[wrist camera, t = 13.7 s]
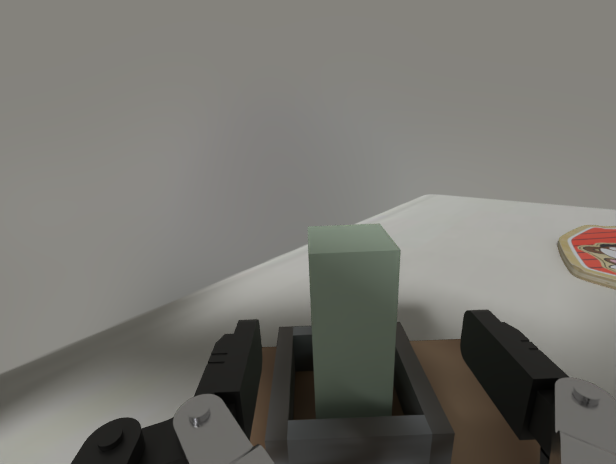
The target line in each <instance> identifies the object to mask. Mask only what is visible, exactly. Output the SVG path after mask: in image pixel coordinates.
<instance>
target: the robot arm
mask: <svg viewBox="0 0 616 464" xmlns="http://www.w3.org/2000/svg"><path fill="white" fill-rule="evenodd" d="M460 350H461V354H462V357H463V360H464V361H465V363H466V364H467V366H468V367H469V369H470V370H471V371H472V373H473V374H474V376H475V377H476V379H477V380H478V382H479V383H480V384H481V386H482V387H483V389H484V390H485V392H486V393H487V394H488V396H489V397H490V399H491V400H492V402H493V403H494V404H495V406H496V407H497V409H498V410H499V412H500V413H501V415H502V416H503V417H504V419H505V420H506V422H507V423H508V425H509V426H510V427H511V429H512V430H513V432H514V433H515V435H516V436H517V437H518V439H519V440H536V441H537V442H538V443H539V445H540V446H539V450H538V456H537V464H616V400H615V399H614V398H613V397H612V396H611V395H610V394H609V393H607V392H606V391H605V390H603V389H601V388H600V387H598V386H596V385H594V384H592V383H590V382H587V381H584V380H581V379H577V378H570V377H568V376H567V375H566V374H565V373H564V372H563V371H562V370H561V369H560V368H559V367H558V366H557V365H556V364H554V363H553V362H552V361H551V360H550V359H549V358H548V357H547V356H546V355H545V354H544V353H543V352H542V351H540V350H538V348H537V347H536V346H535V345H534V344H533V343H532V342H529V339H528V338H527V337H525V336H524V335H523V334H522V333H521V332H520V331H519V330H517V329H516V328H514V327H512V326H510V325H508V324H507V323H505V322H501V321H500V320H499V319H498V318H497V317H495V316H494V315H493V314H492V313H491V312H490V311H489V310H468V311H466V312H465V314H464V318H463V326H462V334H461V342H460ZM261 372H262V345H261V336H260V326H259V321H258V319H255V320H239V321H238V323H237V326H236V329H235V332H234V334H224V335H223V336H222V337H221V338H220V339H219V340H218V341H217V342H216V344H215V346H214V349H213V351H212V353H211V356H210V358H209V361H208V364H207V366H206V368H205V371H204V373H203V375H202V378H201V380H200V383H199V385H198V388H197V390H196V393H195V395H194V397H193V398H191V399H189V400H187V401H186V402H185V403H184V404H182V405H181V406H180V408H179V409H178V410H177V412H176V413H175V416H174V417H173V418H171V419H169V420H166V421H164V422H161V423H158V424H154V425H151V426H148V427H145V428H142V429H141V426H140V423H139V422H138V421H137V420H136V419H133V418H119V419H116V420H113V421H110V422H108V423H106V424H104V425H103V426H101V427H100V428H98V429H97V430H96V431H94V432H93V433H92V434H91V435H90V436H89V437H88V438H87V440H86V441H85V442H84V444H83V445H82V447H81V449H80V450H79V452H78V453H77V455H76V456H75V458H74V460H73V461H72V463H71V464H274V462H273V461H272V459H271V458H270V456H269V455H268V453H267V452H266V451H265V449H264V448H263V447H262V446H261V445H260V444H257V445H255V446H253V445H252V444H251V443H250V436H251V430H252V425H253V419H254V413H255V407H256V401H257V395H258V389H259V383H260V378H261Z"/></svg>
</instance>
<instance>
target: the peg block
mask: <svg viewBox="0 0 616 464" xmlns="http://www.w3.org/2000/svg"><path fill="white" fill-rule="evenodd" d="M308 253H309V276H310V299H311V321H312V344H313V367H314V389H315V412H316V419H333V418H357V417H381V416H392V399H393V380H394V362H395V343H396V325H397V306H398V287H399V269H400V249H399V248H398V246H397V245H396V244H395V242H394V241H393V240H392V239H391V237H390V236H389V235H388V234H387V232H386V231H385V230H384V229H383V227H382V226H381V225H380V224H361V225H337V226H315V227H308Z"/></svg>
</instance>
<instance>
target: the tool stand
mask: <svg viewBox="0 0 616 464" xmlns="http://www.w3.org/2000/svg"><path fill="white" fill-rule="evenodd" d="M460 342H461V339H448V340H424V341H409V339H408V337H407V335H406V333H405V331H404V329H403V327H402V325H401V323H400V322H397V325H396V343H395V362H394V380H393V399H392V416H381V417H357V418H333V419H316V412H315V389H314V367H313V344H312V326H294V327H279V332H278V340H277V347H262V372H261V378H260V383H259V389H258V395H257V401H256V407H255V413H254V419H253V425H252V430H251V436H250V443H251V444H252V445H253V446H255V445H257V444H260V445H261V446H262V447H263V448H264V449H265V451H266V452H267V453H268V455H269V456H270V458H271V459H272V461H273V462H274V464H537V456H538V450H539V446H540V445H539V443H538V442H537V441H536V440H519V439H518V437H517V436H516V435H515V433H514V432H513V430H512V429H511V427H510V426H509V425H508V423H507V422H506V420H505V419H504V417H503V416H502V415H501V413H500V412H499V410H498V409H497V407H496V406H495V404H494V403H493V402H492V400H491V399H490V397H489V396H488V394H487V393H486V392H485V390H484V389H483V387H482V386H481V384H480V383H479V382H478V380H477V379H476V377H475V376H474V374H473V373H472V371H471V370H470V369H469V367H468V366H467V364H466V363H465V361H464V360H463V357H462V354H461V350H460Z"/></svg>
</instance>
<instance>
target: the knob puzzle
mask: <svg viewBox="0 0 616 464" xmlns="http://www.w3.org/2000/svg"><path fill="white" fill-rule="evenodd" d="M558 250H559V253H560V256H561V258H562V260H563V262H564V264H565V266H566V267H567V269H568V270H569V272H570V273H571V274H572V275H573V276H575V277H577V278H579V279H582V280H585V281H588V282H591V283H594V284H598V285H601V286H605V287H608V288H611V289H615V290H616V226H597V225H585V226H581V227H578V228H576V229H574V230H572V231H570V232H568V233H566V234H564V235H563V236H561V237H560V238H559V241H558Z"/></svg>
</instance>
